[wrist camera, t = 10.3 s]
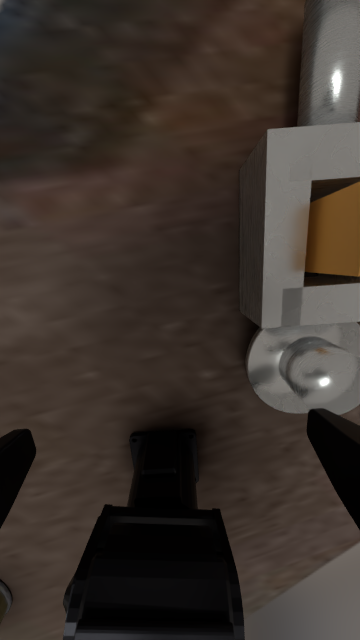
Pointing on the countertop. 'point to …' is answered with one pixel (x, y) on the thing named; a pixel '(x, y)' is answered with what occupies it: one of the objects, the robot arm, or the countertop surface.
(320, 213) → the wedge
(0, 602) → the canister
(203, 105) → the countertop surface
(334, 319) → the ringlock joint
